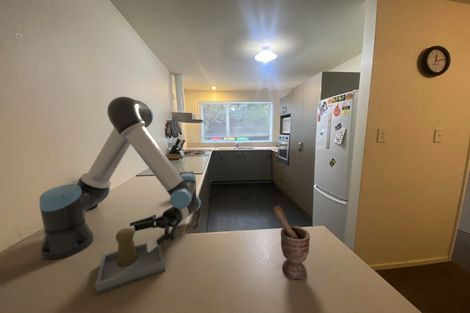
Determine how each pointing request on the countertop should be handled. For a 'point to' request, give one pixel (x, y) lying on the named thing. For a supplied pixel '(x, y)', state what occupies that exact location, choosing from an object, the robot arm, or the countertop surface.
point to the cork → (126, 247)
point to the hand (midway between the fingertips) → (131, 243)
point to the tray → (128, 268)
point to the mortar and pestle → (293, 246)
